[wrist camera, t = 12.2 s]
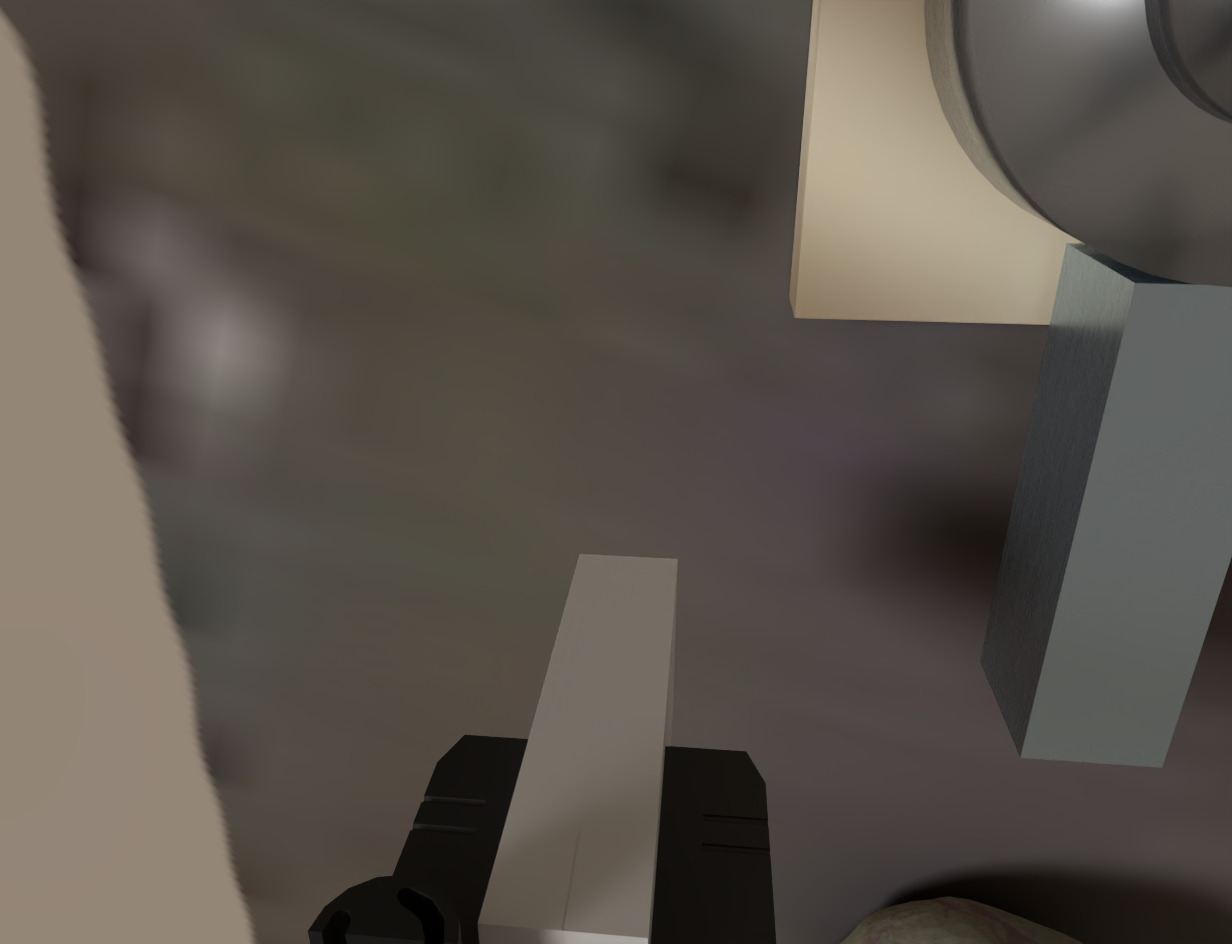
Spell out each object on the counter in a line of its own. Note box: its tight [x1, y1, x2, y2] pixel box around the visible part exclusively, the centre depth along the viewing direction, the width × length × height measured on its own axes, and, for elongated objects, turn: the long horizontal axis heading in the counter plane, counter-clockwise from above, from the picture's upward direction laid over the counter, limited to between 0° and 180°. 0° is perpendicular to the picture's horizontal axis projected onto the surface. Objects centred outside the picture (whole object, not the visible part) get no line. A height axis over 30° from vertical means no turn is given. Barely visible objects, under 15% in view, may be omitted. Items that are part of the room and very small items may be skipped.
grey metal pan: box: [924, 0, 1232, 768], centre depth 14 cm, size 16×8×4 cm, turn 0°
